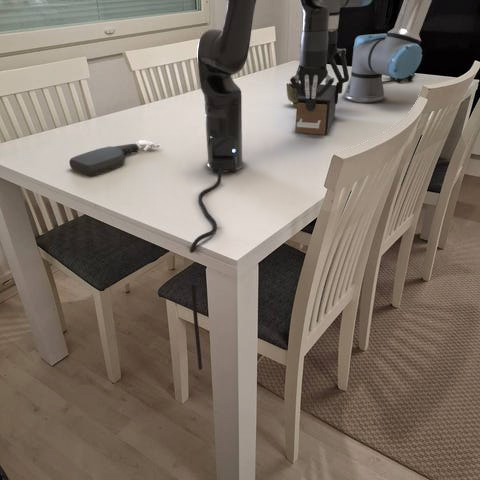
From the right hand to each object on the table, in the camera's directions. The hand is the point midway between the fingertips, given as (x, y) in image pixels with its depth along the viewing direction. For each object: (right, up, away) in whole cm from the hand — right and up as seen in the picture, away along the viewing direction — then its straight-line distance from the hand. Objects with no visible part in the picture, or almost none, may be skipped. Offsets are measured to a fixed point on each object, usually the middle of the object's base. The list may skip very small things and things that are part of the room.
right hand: (319, 102), depth 151 cm
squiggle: (+45, +25, +50) cm, 72 cm away
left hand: (-6, -8, -19) cm, 22 cm away
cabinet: (-2, -8, -2) cm, 9 cm away
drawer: (-4, -10, -8) cm, 13 cm away
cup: (-6, +4, +17) cm, 18 cm away
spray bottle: (-61, -24, -26) cm, 71 cm away
